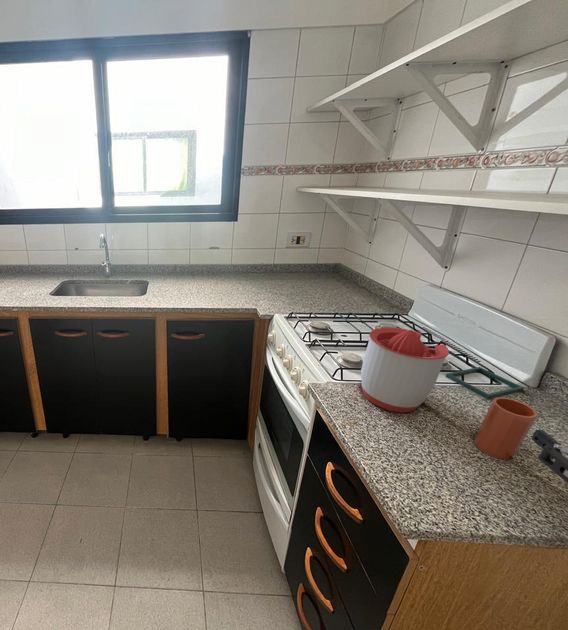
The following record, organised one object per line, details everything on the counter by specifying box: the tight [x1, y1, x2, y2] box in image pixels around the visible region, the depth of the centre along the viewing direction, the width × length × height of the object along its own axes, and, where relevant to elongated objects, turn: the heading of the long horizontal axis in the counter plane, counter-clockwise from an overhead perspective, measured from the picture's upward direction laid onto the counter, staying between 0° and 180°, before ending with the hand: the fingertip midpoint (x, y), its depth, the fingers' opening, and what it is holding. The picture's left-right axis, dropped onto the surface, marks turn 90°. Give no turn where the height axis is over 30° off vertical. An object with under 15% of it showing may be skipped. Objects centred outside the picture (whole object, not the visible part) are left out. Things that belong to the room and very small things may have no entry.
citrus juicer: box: [360, 327, 450, 414], centre depth 85 cm, size 16×17×20 cm
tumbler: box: [473, 396, 538, 461], centre depth 71 cm, size 6×6×11 cm
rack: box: [445, 366, 525, 400], centre depth 92 cm, size 12×10×2 cm
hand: (564, 436), depth 59 cm, fingers open, 8 cm apart
